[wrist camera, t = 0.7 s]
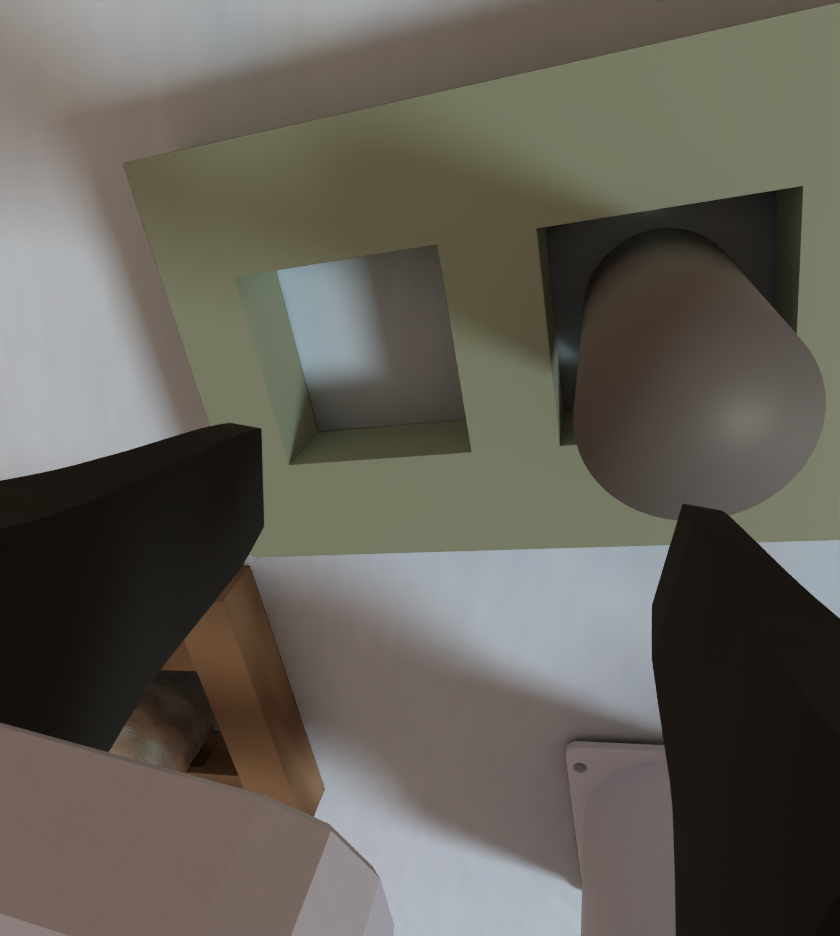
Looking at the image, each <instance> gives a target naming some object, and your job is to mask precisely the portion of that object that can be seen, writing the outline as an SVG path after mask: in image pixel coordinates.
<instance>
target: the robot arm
mask: <svg viewBox="0 0 840 936" xmlns="http://www.w3.org/2000/svg"><path fill="white" fill-rule="evenodd" d="M263 528H264V498H263V464H262V431H261V428H257V427H251V426H246V425H240V424H234V423H224V424H218V425H213V426H209V427H205V428H201V429H198V430H194V431H191V432H187V433H184V434H181V435H177V436H174V437H171V438H168V439H164V440H161V441H158V442H154V443H151V444H148V445H145V446H141V447H138V448H135V449H132V450H128V451H125V452H121V453H118V454H114V455H110V456H107V457H103V458H99V459H96V460H92V461H88V462H85V463H81V464H77V465H74V466H70V467H66V468H61V469H57V470H53V471H48V472H44V473H39V474H34V475H29V476H23V477H18V478H13V479H8V480H2V481H0V936H393V931H394V923H393V920H392V916H391V913H390V910H389V906H388V903H387V900H386V896H385V893H384V890H383V886H382V883H381V880H380V877H379V876H378V874H377V873H376V871H375V870H374V868H373V867H372V865H371V864H370V863H368V862H367V861H366V860H365V859H364V858H363V857H362V856H361V855H360V854H359V853H358V852H357V851H356V850H355V849H354V848H353V847H352V846H351V845H350V844H349V843H348V842H347V841H346V840H345V839H344V838H343V837H342V836H341V835H340V834H339V833H338V832H337V831H336V830H335V829H334V828H333V827H332V826H331V825H330V824H328V823H326V822H323V821H321V820H319V819H317V818H315V817H313V816H310V815H308V814H306V813H304V812H302V811H300V810H297V809H295V808H293V807H291V806H289V805H287V804H284V803H282V802H280V801H278V800H276V799H274V798H271V797H269V796H266V795H262V794H259V793H255V792H251V791H248V790H244V789H240V788H237V787H233V786H229V785H226V784H222V783H219V782H215V781H211V780H208V779H204V778H200V777H197V776H193V775H189V774H186V773H182V772H178V771H175V770H171V769H167V768H164V767H160V766H156V765H153V764H149V763H146V762H142V761H138V760H135V759H131V758H127V757H124V756H120V755H116V754H113V753H109V751H110V749H111V748H112V746H113V744H114V743H115V741H116V739H117V737H118V736H119V734H120V732H121V731H122V729H123V727H124V726H125V724H126V723H127V721H128V719H129V718H130V716H131V715H132V713H133V712H134V710H135V708H136V707H137V705H138V704H139V702H140V700H141V699H142V697H143V696H144V694H145V693H146V691H147V689H148V688H149V686H150V685H151V683H152V682H153V680H154V679H155V677H156V676H157V674H158V673H159V672H160V670H161V669H162V668H163V666H164V665H165V663H166V662H167V661H168V659H169V658H170V657H171V656H172V654H173V653H174V652H175V651H176V649H177V648H178V647H179V646H180V644H181V643H182V642H183V641H184V639H185V638H186V637H187V636H188V634H189V633H190V632H191V631H192V629H193V628H194V627H195V626H196V624H197V623H198V622H199V621H200V619H201V618H202V617H203V616H204V614H205V613H206V612H207V611H208V610H209V608H210V607H211V606H212V605H213V603H214V602H215V601H216V600H217V598H218V597H219V596H220V594H221V593H222V592H223V591H224V589H225V588H226V587H227V585H228V584H229V583H230V582H231V580H232V579H233V578H234V576H235V575H236V574H237V573H238V571H239V570H240V568H241V567H242V565H243V563H244V562H245V560H246V558H247V557H248V555H249V553H250V552H251V550H252V548H253V546H254V545H255V543H256V541H257V539H258V537H259V535H260V534H261V532H262V530H263ZM652 662H653V670H654V677H655V684H656V691H657V699H658V705H659V712H660V719H661V726H662V733H663V739H664V745H649V744H628V743H608V742H587V741H574V742H571V743H569V744H568V745H567V746H566V756H565V757H566V764H567V772H568V780H569V787H570V795H571V803H572V811H573V818H574V826H575V834H576V841H577V849H578V857H579V864H580V872H581V880H582V913H581V936H840V618H838V617H837V616H836V615H835V614H834V613H832V612H831V611H830V610H829V609H828V608H827V607H825V606H824V605H823V604H822V603H821V602H819V601H818V600H817V599H816V598H815V597H814V596H813V595H811V594H810V593H809V592H808V591H807V590H806V589H805V588H804V587H803V586H801V585H800V584H799V583H798V582H797V581H796V580H795V579H794V578H793V577H792V576H791V575H790V574H789V573H788V572H787V571H785V570H784V569H783V568H782V567H781V566H780V565H779V564H778V563H777V562H776V561H775V560H774V559H773V558H772V557H771V556H770V555H769V554H768V553H767V552H766V551H765V550H764V549H763V548H762V547H761V546H760V545H759V544H758V543H757V542H756V541H755V540H754V539H753V538H752V537H751V536H750V535H749V534H748V533H747V532H746V531H745V530H744V529H743V528H742V527H741V526H740V525H739V524H737V523H736V522H735V521H734V520H733V519H732V518H731V517H730V516H729V515H728V514H726V513H725V512H724V511H722V510H717V509H711V508H705V507H700V506H694V505H688V504H683V503H682V507H681V510H680V513H679V517H678V520H677V524H676V527H675V530H674V534H673V537H672V540H671V544H670V547H669V550H668V554H667V557H666V561H665V564H664V567H663V571H662V574H661V577H660V581H659V584H658V587H657V591H656V594H655V598H654V601H653V604H652ZM577 763H583V764H577Z"/></svg>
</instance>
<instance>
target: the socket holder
mask: <svg viewBox="0 0 840 936" xmlns="http://www.w3.org/2000/svg"><path fill="white" fill-rule="evenodd" d="M161 670H173V671H197V674H198V676H199V679H200V681H201V684H202V686H203V689H204V691H205V694H206V696H207V699H208V701H209V703H210V706H211V708H212V711H213V713H214V716H215V718H216V721H217V723H218V726H219V728H220V731H221V733H219V732H210V734H209V736H208V737H207V739H206V740H205V742H204V743H203V745H202V747H201V748H200V750H199V751H198V753H197V754H196V756H195V758H194V759H193V761H192V762H191V764H190V766H189V767H188V769H187V770H186V772H185V773H186V774H189V775H193V776H197V777H200V778H204V779H208V780H211V781H215V782H219V783H222V784H226V785H229V786H233V787H237V788H240V789H244V790H248V791H251V792H255V793H259V794H262V795H266V796H269V797H271V798H274V799H276V800H278V801H280V802H282V803H284V804H287V805H289V806H291V807H293V808H295V809H297V810H300V811H302V812H304V813H306V814H308V815H310V816H313V817H314V814H315V812H316V809H317V807H318V805H319V802H320V800H321V797H322V795H323V792H324V790H325V789H324V786H323V783H322V780H321V777H320V774H319V771H318V768H317V765H316V762H315V759H314V756H313V753H312V750H311V747H310V744H309V741H308V738H307V735H306V732H305V729H304V726H303V723H302V720H301V717H300V714H299V711H298V708H297V705H296V702H295V699H294V696H293V693H292V691H291V688H290V685H289V682H288V679H287V676H286V673H285V670H284V667H283V664H282V661H281V658H280V655H279V652H278V649H277V646H276V643H275V640H274V637H273V634H272V631H271V628H270V625H269V622H268V619H267V616H266V613H265V610H264V607H263V604H262V601H261V598H260V595H259V592H258V589H257V586H256V583H255V580H254V577H253V574H252V571H251V568H250V566H243V567H241V568H240V570H239V571H238V573H237V574H236V575H235V576H234V578H233V579H232V580H231V582H230V583H229V584H228V585H227V587H226V588H225V589H224V591H223V592H222V593H221V594H220V596H219V597H218V598H217V600H216V601H215V602H214V603H213V605H212V606H211V607H210V608H209V610H208V611H207V612H206V613H205V614H204V616H203V617H202V618H201V619H200V621H199V622H198V623H197V624H196V626H195V627H194V628H193V629H192V631H191V632H190V633H189V634H188V636H187V637H186V638H185V639H184V641H183V642H182V643H181V644H180V646H179V647H178V648H177V649H176V651H175V652H174V653H173V654H172V656H171V657H170V658H169V659H168V661H167V662H166V663H165V665H164V666H163V668H162V669H161Z"/></svg>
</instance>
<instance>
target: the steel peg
mask: <svg viewBox="0 0 840 936" xmlns="http://www.w3.org/2000/svg"><path fill="white" fill-rule="evenodd" d="M216 723H217V721H216V718H215V716H214V713H213V711H212V708H211V706H210V703H209V701H208V699H207V696H206V694H205V691H204V689H203V686H202V684H201V681H200V679H199V676H198V674H197V671H173V670H160V672H159V673H158V674H157V676H156V677H155V679H154V680H153V682H152V683H151V685H150V686H149V688H148V689H147V691H146V693H145V694H144V696H143V697H142V699H141V700H140V702H139V704H138V705H137V707H136V708H135V710H134V712H133V713H132V715H131V716H130V718H129V719H128V721H127V723H126V724H125V726H124V727H123V729H122V731H121V732H120V734H119V736H118V737H117V739H116V741H115V743H114V744H113V746H112V748H111V749H110V751H109V753H113V754H116V755H120V756H124V757H127V758H131V759H135V760H138V761H142V762H146V763H149V764H153V765H156V766H160V767H164V768H167V769H171V770H175V771H178V772H182V773H185V772H186V770H187V769H188V767H189V766H190V764H191V762H192V761H193V759H194V758H195V756H196V754H197V753H198V751H199V750H200V748H201V747H202V745H203V743H204V742H205V740H206V739H207V737H208V736H209V734H210V732H211V731H212V729H213V728H214V726H215V724H216Z"/></svg>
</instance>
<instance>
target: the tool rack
mask: <svg viewBox="0 0 840 936" xmlns="http://www.w3.org/2000/svg"><path fill="white" fill-rule="evenodd" d="M123 166H124V169H125V172H126V175H127V178H128V181H129V184H130V187H131V190H132V193H133V196H134V199H135V202H136V205H137V208H138V211H139V214H140V217H141V220H142V223H143V226H144V229H145V232H146V235H147V238H148V241H149V244H150V247H151V250H152V253H153V256H154V259H155V262H156V265H157V268H158V271H159V274H160V277H161V280H162V283H163V286H164V289H165V292H166V295H167V298H168V301H169V304H170V308H171V311H172V314H173V317H174V320H175V323H176V326H177V329H178V332H179V335H180V338H181V341H182V344H183V347H184V350H185V353H186V356H187V359H188V362H189V365H190V368H191V371H192V374H193V377H194V380H195V383H196V386H197V389H198V392H199V395H200V398H201V401H202V404H203V407H204V410H205V413H206V416H207V419H208V422H209V425H210V426H213V425H218V424H224V423H234V424H240V425H246V426H251V427H257V428H261V431H262V464H263V498H264V528H263V530H262V532H261V534H260V535H259V537H258V539H257V541H256V543H255V545H254V546H253V548H252V550H251V552H252V555H253V557H274V556H308V555H342V554H376V553H409V552H443V551H477V550H511V549H545V548H579V547H613V546H646V545H670V544H671V540H672V537H673V534H674V530H675V527H676V524H677V520H678V517H679V513H680V510H681V507H682V503H683V504H688V505H694V506H700V507H705V508H711V509H717V510H722V511H724V512H725V513H726V514H728V515H729V516H730V517H731V518H732V519H733V520H734V521H735V522H736V523H737V524H739V525H740V526H741V527H742V528H743V529H744V530H745V531H746V532H747V533H748V534H749V535H750V536H751V537H752V538H753V539H754V540H755V541H756V542H782V541H816V540H840V2H839V3H834V4H830V5H825V6H821V7H816V8H812V9H808V10H803V11H799V12H794V13H790V14H785V15H781V16H776V17H772V18H767V19H763V20H758V21H754V22H750V23H745V24H741V25H736V26H732V27H727V28H723V29H718V30H714V31H709V32H705V33H701V34H696V35H692V36H687V37H683V38H678V39H674V40H669V41H665V42H660V43H656V44H652V45H647V46H643V47H638V48H634V49H629V50H625V51H620V52H616V53H611V54H607V55H603V56H598V57H594V58H589V59H585V60H580V61H576V62H571V63H567V64H562V65H558V66H554V67H549V68H545V69H540V70H536V71H531V72H527V73H522V74H518V75H513V76H509V77H505V78H500V79H496V80H491V81H487V82H482V83H478V84H473V85H469V86H464V87H460V88H456V89H451V90H447V91H442V92H438V93H433V94H429V95H424V96H420V97H415V98H411V99H407V100H402V101H398V102H393V103H389V104H384V105H380V106H375V107H371V108H366V109H362V110H358V111H353V112H349V113H344V114H340V115H335V116H331V117H326V118H322V119H317V120H313V121H309V122H304V123H300V124H295V125H291V126H286V127H282V128H277V129H273V130H268V131H264V132H260V133H255V134H251V135H246V136H242V137H237V138H233V139H228V140H224V141H219V142H215V143H211V144H206V145H202V146H197V147H193V148H188V149H184V150H179V151H175V152H170V153H166V154H162V155H157V156H153V157H148V158H144V159H139V160H135V161H130V162H126V163H123ZM774 190H777V204H776V238H775V272H774V306H773V307H772V306H771V305H770V303H769V302H768V301H767V300H766V299H765V298H764V297H763V296H762V294H761V293H760V292H759V291H758V290H757V289H756V288H755V287H754V285H753V284H752V283H751V282H750V281H749V280H748V279H747V277H746V276H745V275H744V274H743V273H742V272H741V271H740V270H739V268H738V267H737V266H736V265H735V264H734V263H733V262H732V260H731V259H730V258H729V257H728V256H727V255H726V254H725V253H724V251H723V250H721V249H720V248H719V247H718V246H717V245H716V244H715V243H713V242H712V241H710V240H709V239H708V238H706V237H704V236H702V235H699V234H697V233H694V232H691V231H687V230H682V229H670V228H666V229H656V230H651V231H647V232H644V233H641V234H638V235H635V236H633V237H631V238H629V239H627V240H625V241H624V242H622V243H621V244H619V245H618V246H616V247H615V248H614V249H613V250H612V251H611V252H609V253H608V254H607V255H606V257H605V258H604V259H603V260H602V261H601V262H600V264H599V265H598V266H597V268H596V269H595V271H594V273H593V275H592V277H591V279H590V281H589V284H588V286H587V290H586V293H585V298H584V307H583V318H582V328H581V338H580V349H579V359H578V370H577V380H576V391H575V401H574V410H573V411H564V406H563V396H562V386H561V376H560V366H559V357H558V347H557V337H556V327H555V317H554V308H553V298H552V288H551V278H550V269H549V259H548V249H547V239H546V229H545V227H549V226H555V225H562V224H568V223H574V222H580V221H587V220H593V219H599V218H605V217H612V216H618V215H624V214H630V213H637V212H643V211H649V210H655V209H662V208H668V207H674V206H680V205H687V204H693V203H699V202H705V201H712V200H718V199H724V198H730V197H737V196H743V195H749V194H755V193H762V192H768V191H774ZM430 245H437V246H438V252H439V258H440V264H441V270H442V276H443V282H444V288H445V295H446V301H447V307H448V313H449V319H450V325H451V331H452V337H453V343H454V349H455V355H456V361H457V367H458V373H459V379H460V385H461V391H462V397H463V403H464V409H465V415H466V420H454V421H443V422H431V423H419V424H407V425H395V426H383V427H372V428H360V429H348V430H336V431H324V432H318V429H317V425H316V421H315V417H314V414H313V410H312V406H311V402H310V398H309V395H308V391H307V387H306V383H305V379H304V375H303V372H302V368H301V364H300V360H299V356H298V353H297V349H296V345H295V341H294V337H293V334H292V330H291V326H290V322H289V318H288V314H287V311H286V307H285V303H284V299H283V295H282V292H281V288H280V284H279V280H278V276H277V273H276V270H280V269H287V268H293V267H299V266H305V265H312V264H318V263H324V262H330V261H337V260H343V259H349V258H355V257H362V256H368V255H374V254H380V253H387V252H393V251H399V250H405V249H412V248H418V247H424V246H430Z"/></svg>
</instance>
